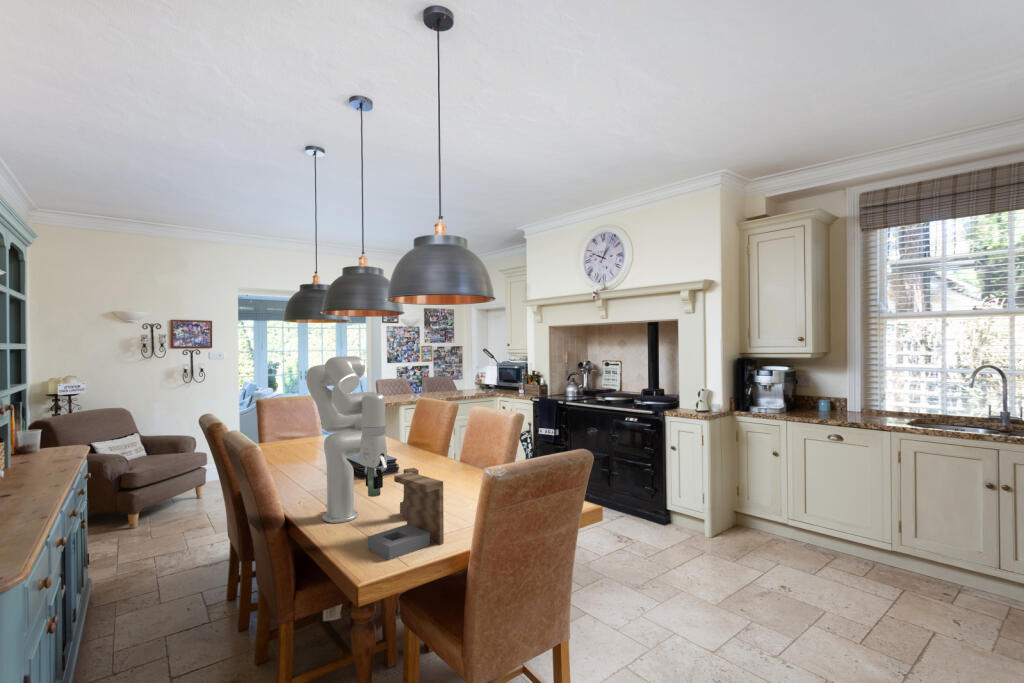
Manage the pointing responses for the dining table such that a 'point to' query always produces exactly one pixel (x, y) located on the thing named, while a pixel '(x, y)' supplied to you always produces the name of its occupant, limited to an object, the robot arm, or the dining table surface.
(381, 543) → the socket block
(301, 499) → the dining table surface
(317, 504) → the dining table surface
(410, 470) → the wooden block
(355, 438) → the robot arm
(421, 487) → the brown notched wall
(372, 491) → the peg
